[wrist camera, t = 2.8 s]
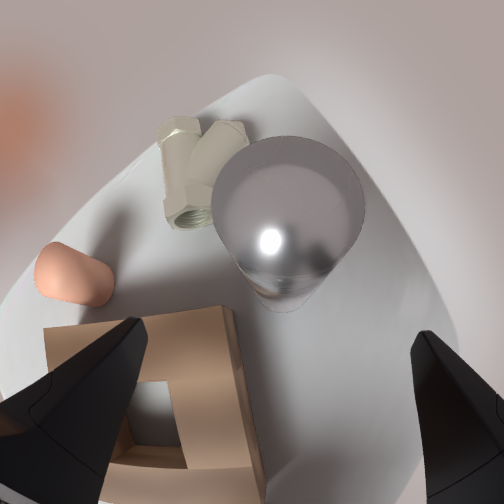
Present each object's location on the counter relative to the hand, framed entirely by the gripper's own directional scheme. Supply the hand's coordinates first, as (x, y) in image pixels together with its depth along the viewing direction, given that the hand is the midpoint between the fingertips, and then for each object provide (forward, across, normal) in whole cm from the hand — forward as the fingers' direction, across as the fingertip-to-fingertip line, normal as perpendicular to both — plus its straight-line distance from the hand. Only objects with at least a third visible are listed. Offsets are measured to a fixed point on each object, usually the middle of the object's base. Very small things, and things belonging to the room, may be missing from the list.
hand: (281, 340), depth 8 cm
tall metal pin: (+9, 0, +5) cm, 11 cm away
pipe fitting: (+16, +6, 0) cm, 17 cm away
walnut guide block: (+2, +8, +12) cm, 14 cm away
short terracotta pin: (+9, +14, +6) cm, 18 cm away
